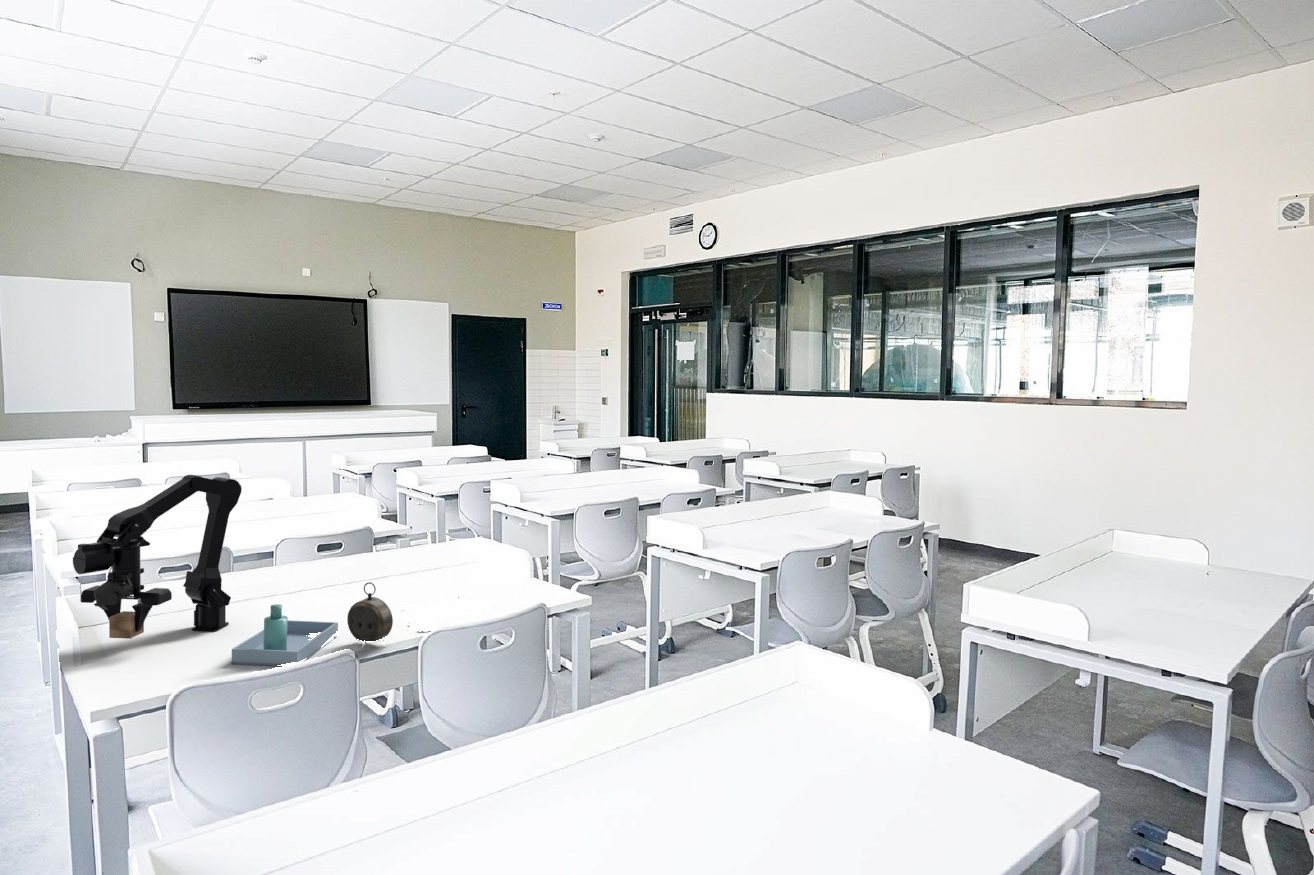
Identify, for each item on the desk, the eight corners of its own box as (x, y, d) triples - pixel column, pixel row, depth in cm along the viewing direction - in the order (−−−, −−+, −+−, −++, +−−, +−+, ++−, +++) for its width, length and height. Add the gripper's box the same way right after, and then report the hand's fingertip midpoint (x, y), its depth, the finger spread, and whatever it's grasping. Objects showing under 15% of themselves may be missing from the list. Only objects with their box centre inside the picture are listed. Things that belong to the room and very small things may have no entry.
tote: (337, 636, 212) (338, 622, 211) (297, 667, 188) (297, 651, 188) (279, 633, 212) (279, 620, 212) (231, 664, 189) (231, 649, 188)
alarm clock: (393, 646, 206) (394, 582, 205) (379, 652, 201) (380, 587, 200) (357, 640, 209) (358, 577, 208) (343, 646, 204) (343, 582, 203)
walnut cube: (143, 632, 199) (143, 612, 198) (130, 638, 194) (130, 618, 193) (123, 631, 199) (123, 611, 198) (109, 637, 194) (109, 617, 194)
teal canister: (284, 651, 197) (285, 602, 196) (288, 657, 193) (289, 607, 192) (261, 654, 194) (263, 604, 194) (265, 660, 190) (266, 609, 190)
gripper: (62, 572, 187) (63, 639, 188) (143, 576, 187) (143, 642, 188) (96, 562, 198) (97, 625, 199) (172, 565, 198) (173, 628, 199)
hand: (126, 630), depth 196 cm, fingers closed on walnut cube, 5 cm apart
